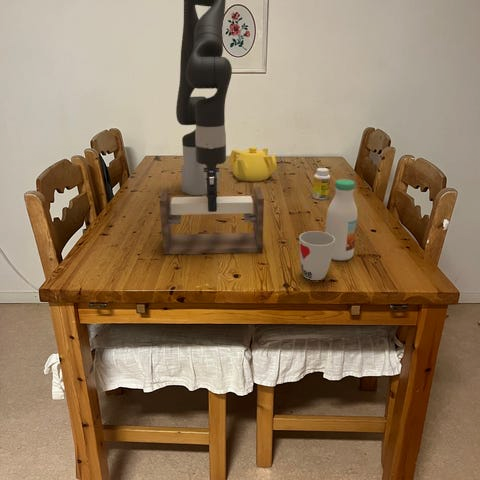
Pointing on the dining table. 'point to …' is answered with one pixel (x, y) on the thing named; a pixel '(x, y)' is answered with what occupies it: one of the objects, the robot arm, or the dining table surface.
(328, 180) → the supplement bottle
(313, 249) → the cup
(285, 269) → the dining table surface
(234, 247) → the shelf frame
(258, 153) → the teapot
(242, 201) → the shelf board
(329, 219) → the milk bottle
